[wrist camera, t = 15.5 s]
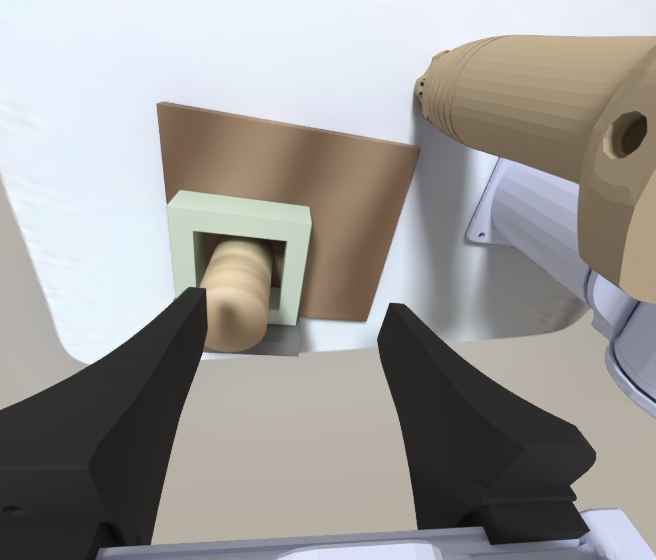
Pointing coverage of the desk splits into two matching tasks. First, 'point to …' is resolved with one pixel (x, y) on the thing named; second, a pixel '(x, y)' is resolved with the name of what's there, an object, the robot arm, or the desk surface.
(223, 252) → the dowel
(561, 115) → the handle
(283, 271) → the collar block
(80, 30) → the desk surface
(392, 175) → the board
